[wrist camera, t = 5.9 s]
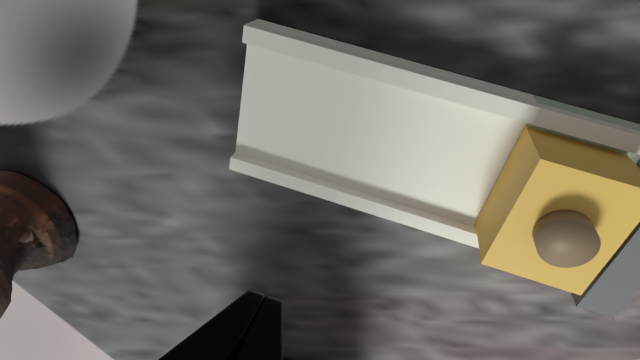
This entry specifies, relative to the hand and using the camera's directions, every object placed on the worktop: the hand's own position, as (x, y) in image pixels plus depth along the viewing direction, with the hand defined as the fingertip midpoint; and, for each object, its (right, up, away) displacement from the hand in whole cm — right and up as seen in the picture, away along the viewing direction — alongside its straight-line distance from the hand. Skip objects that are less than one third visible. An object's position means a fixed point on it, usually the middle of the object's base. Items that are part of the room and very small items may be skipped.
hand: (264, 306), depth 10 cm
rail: (+6, +4, +10) cm, 12 cm away
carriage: (+11, +3, +8) cm, 14 cm away
